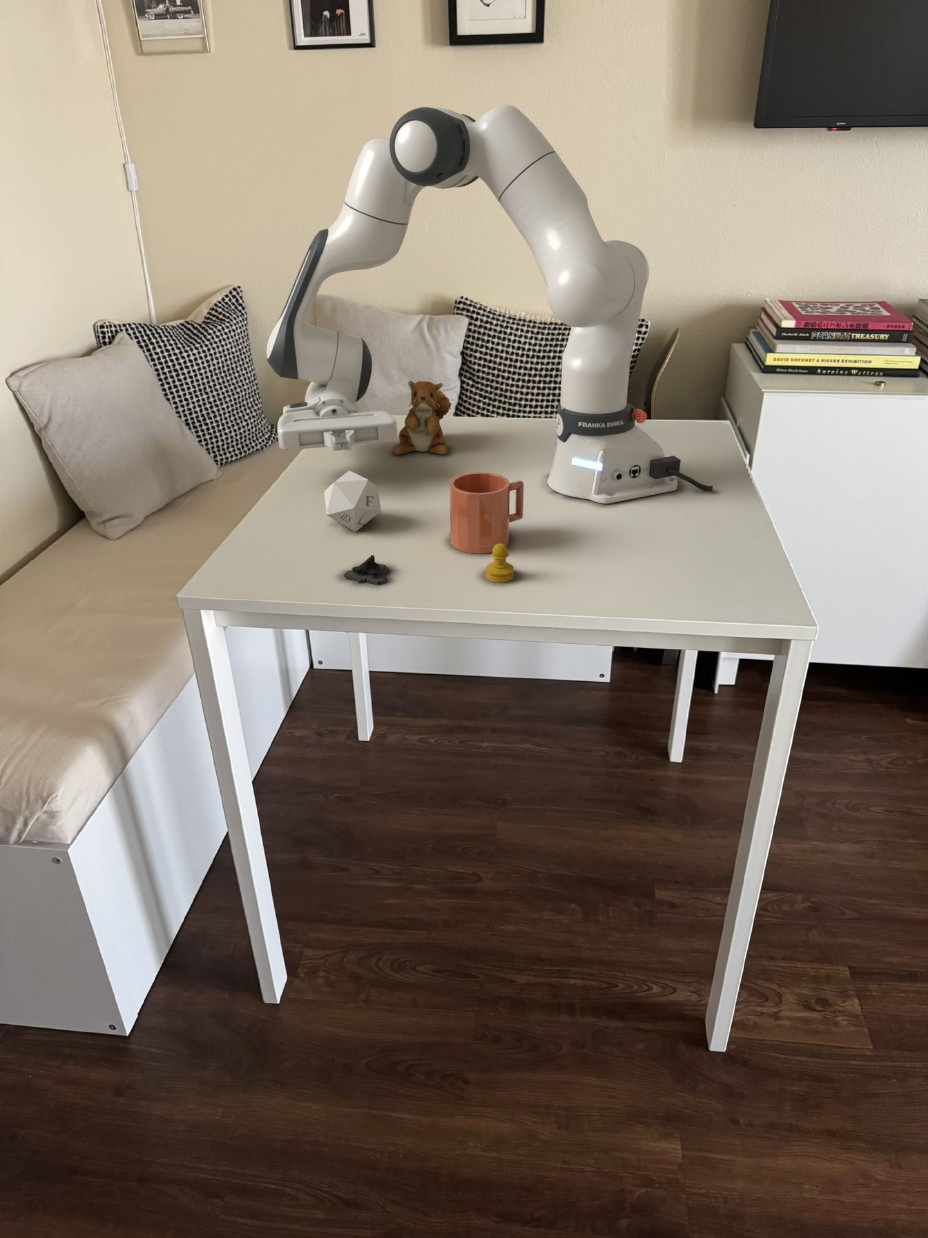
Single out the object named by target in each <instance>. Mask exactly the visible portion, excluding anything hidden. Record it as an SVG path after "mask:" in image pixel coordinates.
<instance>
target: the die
mask: <svg viewBox="0 0 928 1238" xmlns="http://www.w3.org/2000/svg"><path fill="white" fill-rule="evenodd" d="M323 496H324V504H325V505H324V506H325V512H326V513H325V514H326V516H327V517H329V518H330V519H332V520H334V521H335V522H337V523H339V524H340V525H342V526H344V527H346V528H347V529H349V530H351V531H353V532H355V533H356V532H358V531H359V530H360V529H362V528H363V526H365V525H366V524H367V523H368V522H369V521H371V520H372V519H373V518H375V517H376V516H377V515H378V514H379V513H380V512H382V508H381V502H380V500H381V499H380V494H379V489H378V486H377V485H375V483H373V482H371V480H369V479H368V478H366V477H364V476H362V475H359V474H357V473H356V472H354V471H351V470H348V471H347V472H345V473H344V474H343V475H341V476H340V477H339V478H338V479H335V481H334V482H333V483H332V484H330V485H329V486H328V487H327V489H325V490H324V491H323Z"/></svg>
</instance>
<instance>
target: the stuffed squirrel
mask: <svg viewBox="0 0 928 1238" xmlns="http://www.w3.org/2000/svg"><path fill="white" fill-rule="evenodd" d="M407 385H408V388H409V390H410V393H411V394H410V397H411V398H410V403H409V405H408V407H409V408H410V407H411V406H412V407H411V408H410V409H409V410H408V414H407V415H406V417H405V419H404V426H403V427H402V428H401V429H400V431H399V432H398V440H399V443H398V444H396V446H394V451H393V452H394V454H395V455H404V454H408V453H410V452H413V451H415V452H420V453H423V452H425V453H426V452H430V453H434V454H437V455H441V456H444V455H446V454H447V452H448V446H447V441H446V439H445V437H444V432H443V429H442V426H441V422H440V420H442V419H444V416H447V414H448V413H449V412H450V410H452V402H451V401H450V399H449V397H448V396H446V394H445V393H443V391H442V390H441V389H442V388H443V387H444V385H443V383H442V382H439V383H436V384H435V383H433V382H431V381H427V380H426V381H424V380H419V381H416V382H414V381H412V380H409V381H408V382H407Z"/></svg>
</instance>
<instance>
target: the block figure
mask: <svg viewBox="0 0 928 1238" xmlns="http://www.w3.org/2000/svg"><path fill="white" fill-rule="evenodd" d="M389 569H390V568H388V566H387V565H386V564H383V563H377V562H376V559H375V555H374V554H371V555H370V556H369V557H368V558H367V559H366V560H364V561H363V562H362V563H361V564H360V565H358V566H353V567H352V568H351V570H347V571H345V572H344V574H343V577H344V578H345V579H346V580H350V581H356V583H358V584H361V583H365V582H366V583H367V584H372V585H376V586H377V585H383V583H385V582H386V581H387V577H386V574H387V573H389V572H390V571H389Z"/></svg>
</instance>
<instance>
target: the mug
mask: <svg viewBox="0 0 928 1238" xmlns="http://www.w3.org/2000/svg"><path fill="white" fill-rule="evenodd" d="M524 483H525V482H524V481H522V480H515V481H512V482H510V481H509V479H508V478H507V477H505V476H503V475H501V474H498V473H492V472H486V471H485V472H483V471H477V472H467V473H464V474H463V473H462V474H459V475H457V476H455V477H453V478H451V480H450V482H449V527H450V529H449V531H450V542H451V545H452V546H453V548H455V549H456V550H458V551H461V552H463V553H464V552H465V553H469V554H479V555H480V554H490V553H491V554H492V550H493V547H494V546H495V545H496V544H504V545H505V546H506V547H507V546H508V544H509V538H510V523H514V522H518V521H520V520H522V519H523V517H524V491H525V490H524V489H525V488H524V487H525V484H524ZM512 491H515V504H514V505H515V506H514V507H515V509H514V511H515V512H513V513H510V501H511V500H510V498H511V497H510V496H511V494H510V493H511V492H512Z"/></svg>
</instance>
